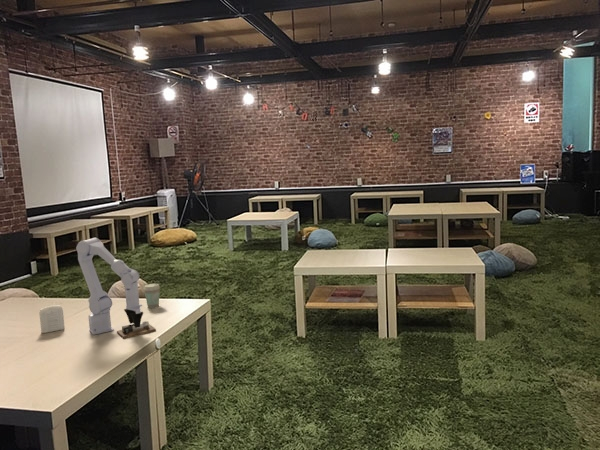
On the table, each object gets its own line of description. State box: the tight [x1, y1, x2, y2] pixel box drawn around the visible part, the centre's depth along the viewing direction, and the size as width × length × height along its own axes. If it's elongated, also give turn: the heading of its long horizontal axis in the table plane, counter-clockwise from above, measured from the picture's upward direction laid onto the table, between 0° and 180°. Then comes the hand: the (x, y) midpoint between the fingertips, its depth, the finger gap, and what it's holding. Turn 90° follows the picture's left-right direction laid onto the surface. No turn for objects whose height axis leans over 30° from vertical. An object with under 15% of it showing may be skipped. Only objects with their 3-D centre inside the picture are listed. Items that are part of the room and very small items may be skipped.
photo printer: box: [38, 304, 66, 334], centre depth 244 cm, size 10×4×12 cm, turn 123°
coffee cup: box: [143, 283, 161, 309], centre depth 277 cm, size 8×8×12 cm
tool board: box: [116, 323, 157, 339], centre depth 237 cm, size 15×10×3 cm, turn 125°
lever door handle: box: [121, 320, 150, 334], centre depth 237 cm, size 12×3×3 cm, turn 125°
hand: (134, 325), depth 236 cm, fingers open, 7 cm apart
